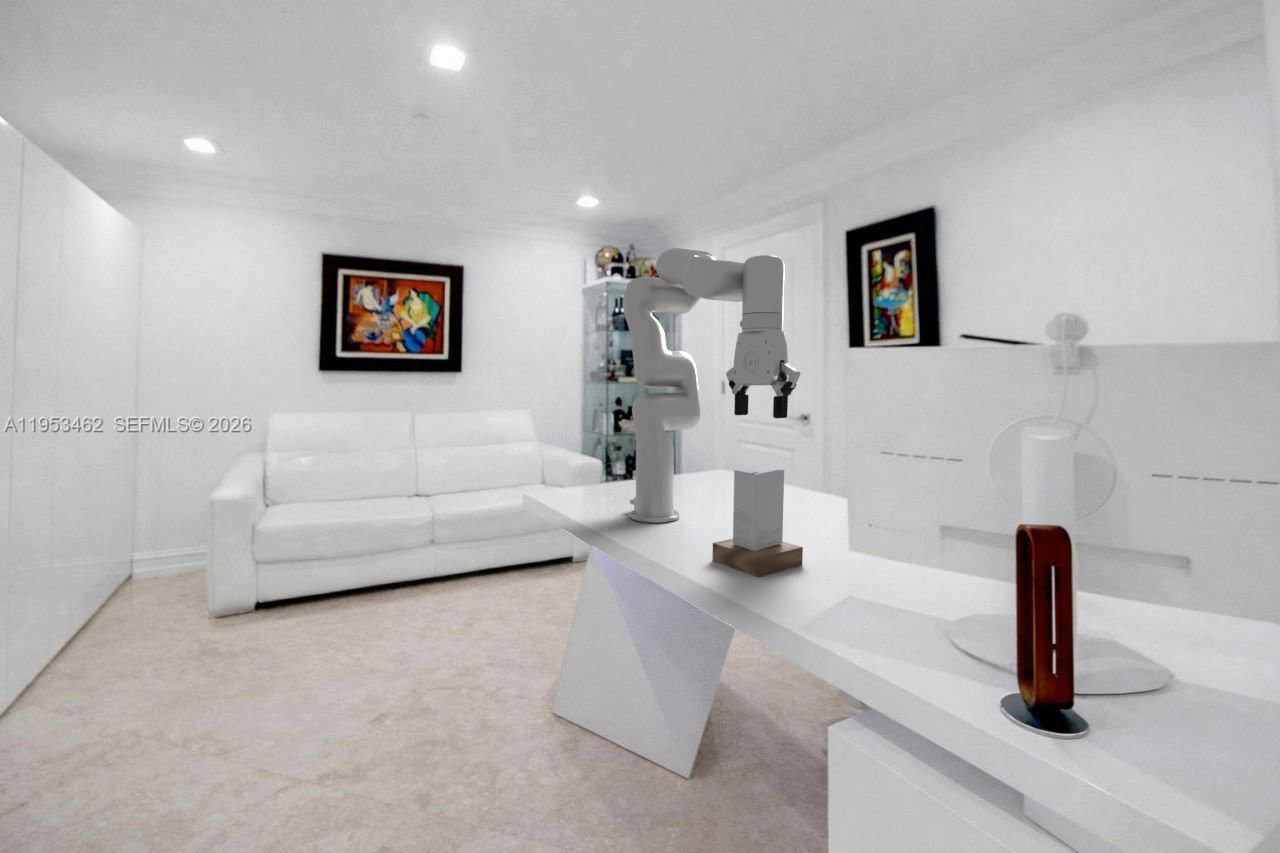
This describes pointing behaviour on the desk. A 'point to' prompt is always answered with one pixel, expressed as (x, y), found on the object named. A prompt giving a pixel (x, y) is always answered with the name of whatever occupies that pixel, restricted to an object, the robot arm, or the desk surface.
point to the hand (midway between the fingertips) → (760, 416)
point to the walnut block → (758, 557)
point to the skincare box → (758, 507)
